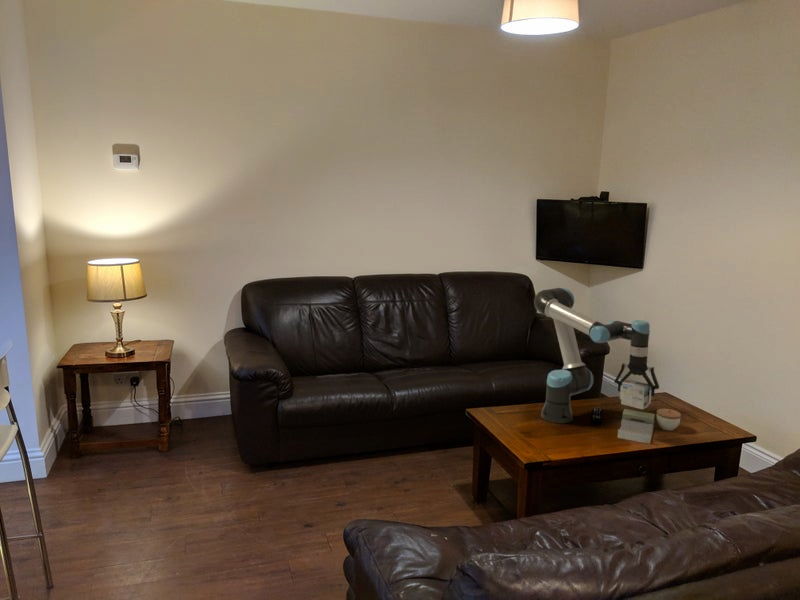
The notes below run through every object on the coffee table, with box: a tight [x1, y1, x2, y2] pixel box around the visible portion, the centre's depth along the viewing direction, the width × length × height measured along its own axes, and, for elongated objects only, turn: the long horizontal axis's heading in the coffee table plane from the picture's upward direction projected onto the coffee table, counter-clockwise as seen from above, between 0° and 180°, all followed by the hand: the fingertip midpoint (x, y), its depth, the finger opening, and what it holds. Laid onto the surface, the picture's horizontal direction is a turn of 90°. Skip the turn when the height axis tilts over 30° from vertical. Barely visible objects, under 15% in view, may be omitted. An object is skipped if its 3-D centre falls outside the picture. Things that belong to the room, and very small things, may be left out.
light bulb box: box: [620, 378, 651, 410], centre depth 275 cm, size 11×7×11 cm, turn 45°
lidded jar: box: [656, 408, 682, 431], centre depth 287 cm, size 11×11×9 cm
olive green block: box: [621, 408, 656, 428], centre depth 289 cm, size 14×7×6 cm, turn 64°
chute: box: [617, 418, 654, 445], centre depth 279 cm, size 14×15×4 cm
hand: (635, 400), depth 276 cm, fingers closed on light bulb box, 12 cm apart
